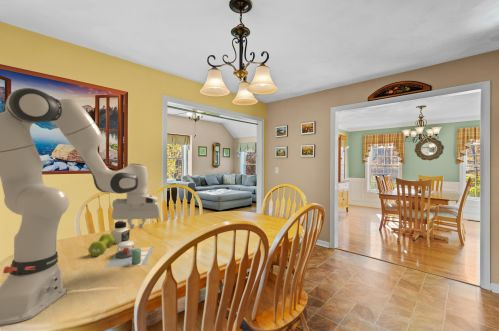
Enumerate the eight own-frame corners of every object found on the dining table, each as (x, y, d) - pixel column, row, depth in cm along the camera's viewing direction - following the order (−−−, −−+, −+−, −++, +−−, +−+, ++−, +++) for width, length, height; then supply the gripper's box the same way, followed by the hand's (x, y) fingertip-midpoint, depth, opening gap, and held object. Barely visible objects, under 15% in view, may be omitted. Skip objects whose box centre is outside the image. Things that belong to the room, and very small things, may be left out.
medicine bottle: (121, 244, 136) (121, 223, 136) (110, 243, 138) (110, 222, 137) (129, 240, 144) (130, 220, 143) (119, 239, 145) (119, 219, 144)
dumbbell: (104, 256, 119) (104, 242, 119) (86, 257, 117) (86, 243, 117) (115, 245, 135) (115, 232, 135) (100, 246, 133) (100, 233, 133)
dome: (131, 252, 116) (131, 245, 116) (115, 253, 115) (115, 246, 115) (135, 247, 123) (135, 240, 123) (120, 247, 122) (120, 241, 122)
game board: (145, 266, 109) (145, 257, 108) (104, 269, 105) (104, 260, 105) (154, 248, 131) (154, 241, 131) (120, 250, 127) (120, 242, 127)
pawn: (139, 264, 108) (139, 251, 108) (130, 264, 108) (130, 251, 108) (141, 261, 112) (142, 248, 112) (133, 261, 112) (133, 248, 112)
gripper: (110, 199, 104) (109, 231, 105) (159, 199, 109) (158, 229, 109) (114, 197, 111) (114, 227, 111) (161, 197, 115) (160, 225, 115)
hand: (136, 228), depth 110 cm, fingers open, 3 cm apart
